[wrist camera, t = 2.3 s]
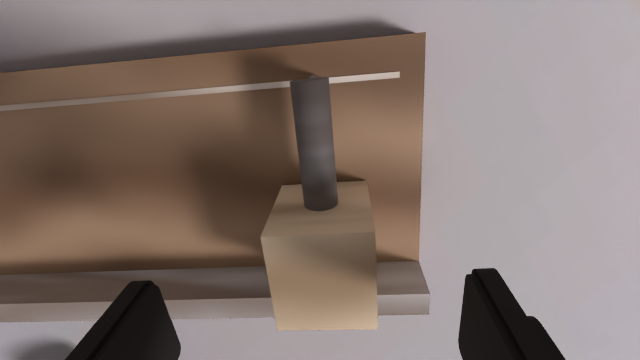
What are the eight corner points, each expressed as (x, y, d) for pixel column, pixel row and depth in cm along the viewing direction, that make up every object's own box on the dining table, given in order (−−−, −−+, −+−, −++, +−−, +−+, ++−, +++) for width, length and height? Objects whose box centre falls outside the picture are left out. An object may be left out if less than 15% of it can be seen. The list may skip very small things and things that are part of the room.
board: (411, 259, 19) (428, 314, 15) (18, 272, 22) (-53, 323, 18) (416, 33, 15) (442, 30, 11) (-84, 81, 17) (-210, 93, 13)
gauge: (369, 259, 17) (378, 328, 13) (293, 261, 17) (277, 330, 13) (362, 70, 14) (371, 83, 9) (266, 78, 14) (234, 94, 10)
